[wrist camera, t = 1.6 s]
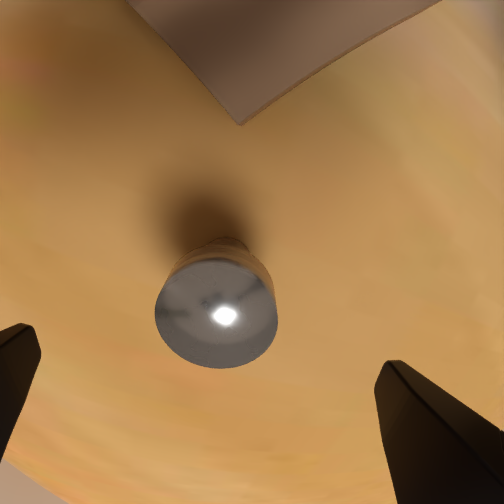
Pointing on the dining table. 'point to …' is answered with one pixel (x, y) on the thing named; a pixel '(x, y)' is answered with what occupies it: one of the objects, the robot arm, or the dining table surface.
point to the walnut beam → (267, 41)
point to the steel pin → (218, 306)
